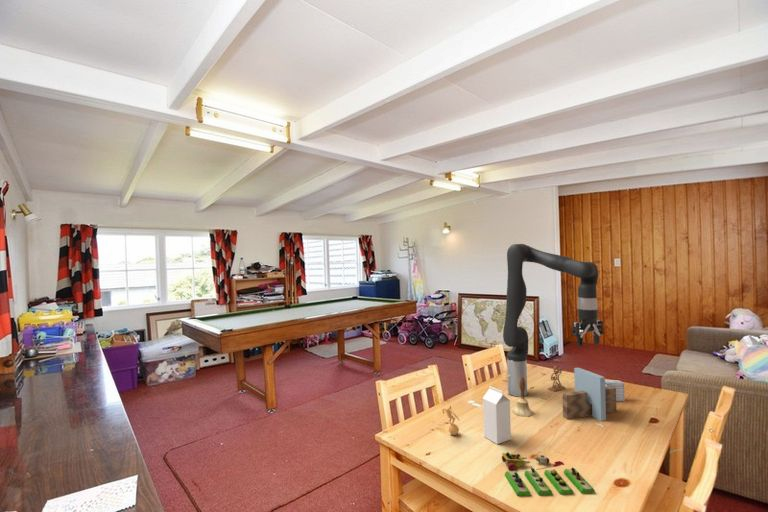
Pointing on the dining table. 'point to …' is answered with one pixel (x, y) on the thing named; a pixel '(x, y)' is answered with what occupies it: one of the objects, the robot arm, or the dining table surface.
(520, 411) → the hand bell
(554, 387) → the tan statuette
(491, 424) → the milk carton
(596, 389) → the blue-gray tapered panel
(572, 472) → the toy garden set
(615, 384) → the medicine box
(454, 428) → the figurine
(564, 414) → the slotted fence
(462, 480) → the dining table surface
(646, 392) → the dining table surface
